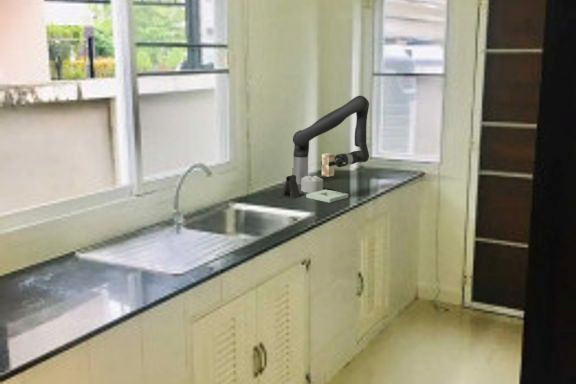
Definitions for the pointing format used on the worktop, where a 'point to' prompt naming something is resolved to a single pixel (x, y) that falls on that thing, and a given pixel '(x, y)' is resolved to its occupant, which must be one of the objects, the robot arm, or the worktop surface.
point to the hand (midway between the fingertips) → (325, 163)
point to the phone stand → (291, 187)
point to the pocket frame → (327, 195)
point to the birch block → (325, 161)
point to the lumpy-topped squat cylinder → (311, 184)
